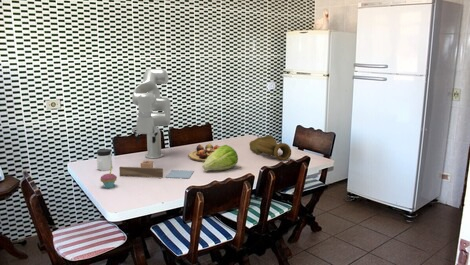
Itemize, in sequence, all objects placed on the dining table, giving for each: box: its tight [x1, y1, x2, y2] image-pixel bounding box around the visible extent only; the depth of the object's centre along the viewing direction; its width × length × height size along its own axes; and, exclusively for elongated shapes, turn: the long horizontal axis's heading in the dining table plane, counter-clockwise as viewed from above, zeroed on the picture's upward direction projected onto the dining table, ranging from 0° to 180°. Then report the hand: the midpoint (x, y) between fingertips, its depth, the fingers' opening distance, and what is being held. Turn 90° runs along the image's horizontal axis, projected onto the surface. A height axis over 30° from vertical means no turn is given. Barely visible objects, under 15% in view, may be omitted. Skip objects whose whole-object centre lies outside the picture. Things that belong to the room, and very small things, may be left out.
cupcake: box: [100, 165, 118, 189], centre depth 206 cm, size 9×8×12 cm
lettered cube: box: [140, 160, 154, 168], centre depth 235 cm, size 6×6×6 cm
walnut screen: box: [119, 166, 164, 179], centre depth 224 cm, size 2×26×6 cm, turn 85°
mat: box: [165, 169, 195, 180], centre depth 229 cm, size 14×14×1 cm
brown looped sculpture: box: [249, 134, 292, 161], centre depth 272 cm, size 23×16×28 cm
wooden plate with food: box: [188, 143, 222, 163], centre depth 270 cm, size 32×32×8 cm
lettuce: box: [202, 144, 239, 171], centre depth 241 cm, size 15×24×16 cm
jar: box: [96, 148, 113, 171], centre depth 238 cm, size 9×8×12 cm
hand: (146, 142), depth 231 cm, fingers open, 9 cm apart
